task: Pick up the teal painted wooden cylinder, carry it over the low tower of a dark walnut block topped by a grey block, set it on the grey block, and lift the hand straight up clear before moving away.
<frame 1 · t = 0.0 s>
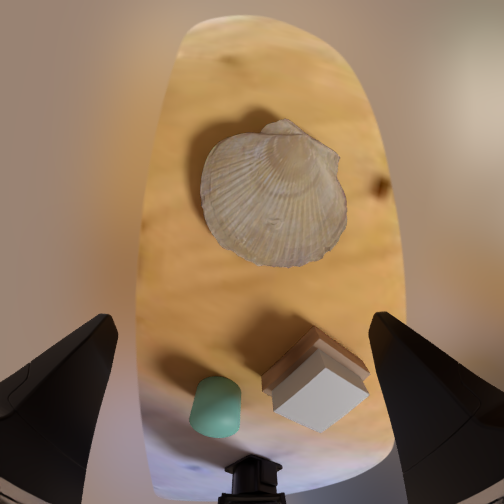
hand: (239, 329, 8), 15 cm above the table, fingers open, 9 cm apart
teal cylinder: (218, 392, 27), on the table
seashell: (274, 193, 23), on the table
walnut base: (313, 367, 27), on the table, touching grey block
grey block: (317, 384, 24), point 3 cm above the table, touching walnut base
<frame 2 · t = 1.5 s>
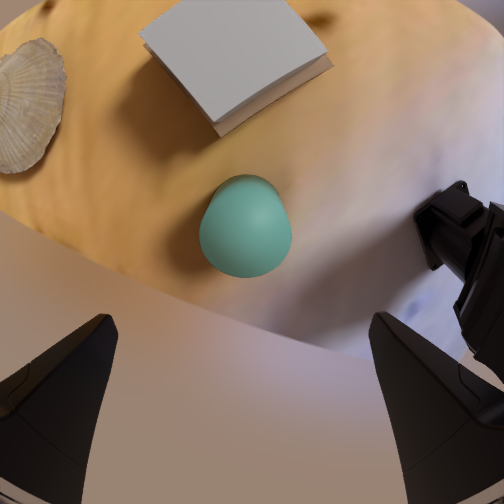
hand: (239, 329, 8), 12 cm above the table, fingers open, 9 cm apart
teal cylinder: (246, 209, 19), on the table
seashell: (28, 104, 14), on the table
walnut base: (238, 58, 14), on the table
grey block: (233, 48, 12), point 3 cm above the table
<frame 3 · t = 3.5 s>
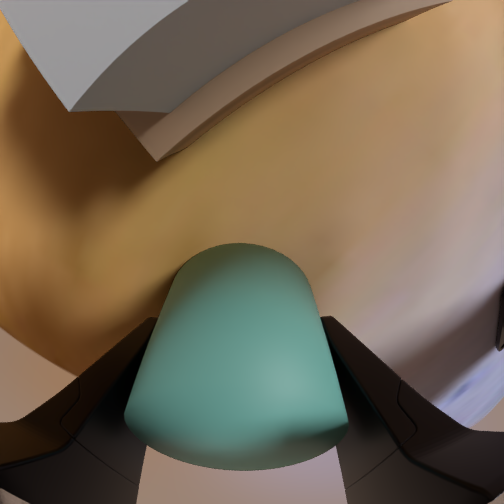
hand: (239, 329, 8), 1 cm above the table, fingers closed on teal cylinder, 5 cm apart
teal cylinder: (240, 308, 9), on the table, touching gripper
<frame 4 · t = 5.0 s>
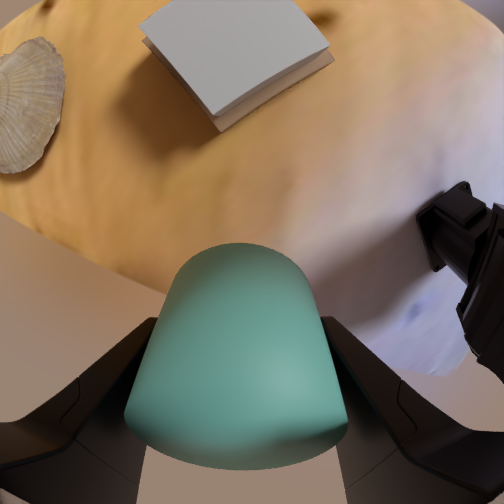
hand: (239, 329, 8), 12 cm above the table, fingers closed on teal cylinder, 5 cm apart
teal cylinder: (240, 308, 9), point 11 cm above the table, touching gripper
seashell: (28, 103, 14), on the table
walnut base: (238, 53, 14), on the table
grey block: (234, 42, 11), point 3 cm above the table
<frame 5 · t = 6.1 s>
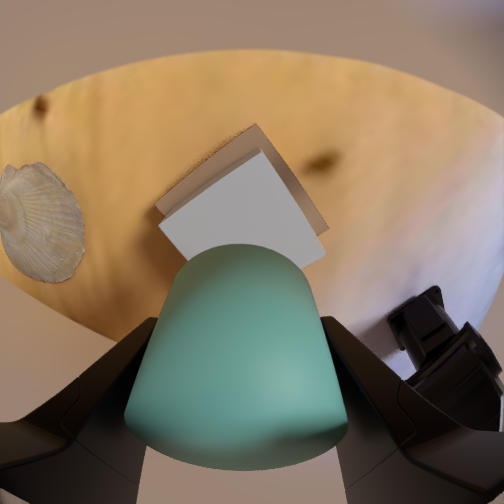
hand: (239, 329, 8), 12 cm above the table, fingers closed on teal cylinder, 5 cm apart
teal cylinder: (240, 308, 9), point 11 cm above the table, touching gripper
seashell: (44, 215, 19), on the table
walnut base: (243, 201, 19), on the table, touching grey block
grey block: (244, 219, 17), point 2 cm above the table, touching walnut base
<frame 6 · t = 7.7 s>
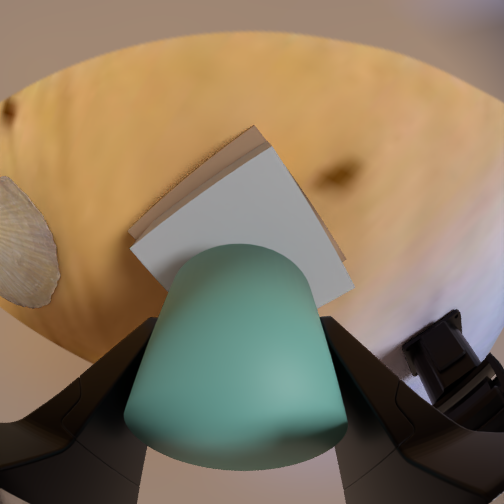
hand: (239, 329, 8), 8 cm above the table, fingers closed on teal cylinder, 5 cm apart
teal cylinder: (240, 308, 9), point 7 cm above the table, touching gripper
seashell: (18, 233, 16), on the table
walnut base: (239, 222, 16), on the table
grey block: (246, 237, 13), point 3 cm above the table
when the fingers open (8 cm above the table, at t = 7.8 s): teal cylinder drops 1 cm, resting on grey block.
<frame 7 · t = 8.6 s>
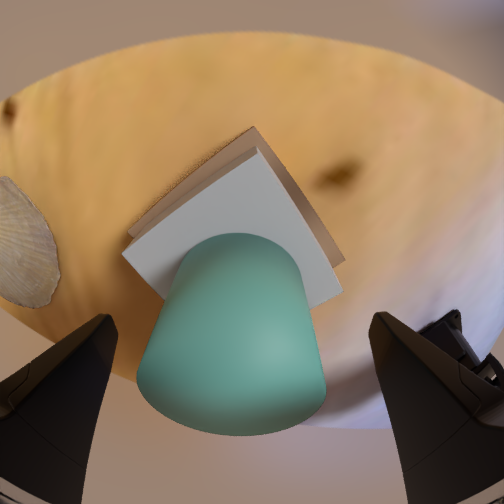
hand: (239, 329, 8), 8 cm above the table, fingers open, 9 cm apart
teal cylinder: (239, 290, 11), point 6 cm above the table, touching grey block
seashell: (18, 233, 16), on the table
walnut base: (239, 223, 16), on the table, touching grey block
grey block: (237, 241, 13), point 2 cm above the table, touching teal cylinder, walnut base
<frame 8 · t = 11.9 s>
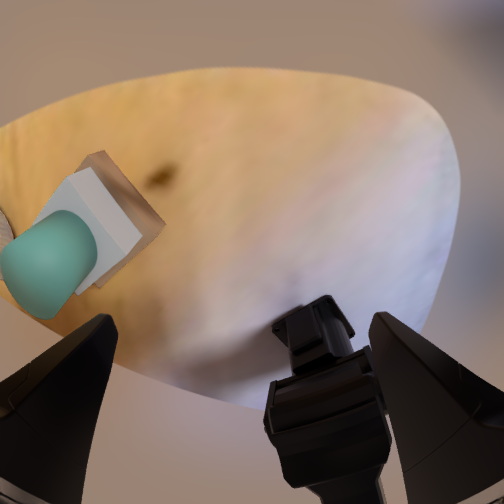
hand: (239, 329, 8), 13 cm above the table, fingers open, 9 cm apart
teal cylinder: (68, 244, 15), point 5 cm above the table, touching grey block
walnut base: (107, 214, 21), on the table, touching grey block
grey block: (90, 225, 18), point 2 cm above the table, touching teal cylinder, walnut base
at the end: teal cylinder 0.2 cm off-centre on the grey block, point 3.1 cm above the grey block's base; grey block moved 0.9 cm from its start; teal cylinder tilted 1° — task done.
